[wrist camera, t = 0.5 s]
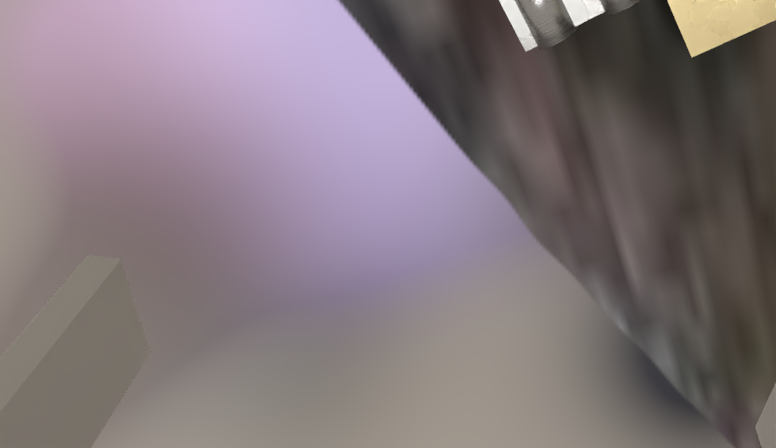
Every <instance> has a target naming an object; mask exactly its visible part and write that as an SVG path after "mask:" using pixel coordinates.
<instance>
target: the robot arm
mask: <svg viewBox="0 0 776 448" xmlns="http://www.w3.org/2000/svg"><path fill="white" fill-rule="evenodd" d="M150 352H151V351H150V348H149V345H148V342H147V339H146V335H145V332H144V329H143V326H142V323H141V320H140V316H139V313H138V310H137V307H136V304H135V301H134V297H133V294H132V291H131V288H130V285H129V282H128V278H127V275H126V272H125V269H124V266H123V262H122V259H118V258H109V257H99V256H89V255H87V257H86V258H85V259H84V260H83V261H82V262H81V264H80V265H79V266H78V267H77V268H76V270H75V271H74V272H73V273H72V274H71V275H70V276H69V278H68V279H67V280H66V281H65V282H64V283H63V285H62V286H61V287H60V288H59V289H58V290H57V292H56V293H55V294H54V295H53V296H52V297H51V298H50V300H49V301H48V302H47V303H46V304H45V305H44V307H43V308H42V309H41V310H40V311H39V312H38V314H37V315H36V316H35V317H34V318H33V319H32V321H31V322H30V323H29V324H28V325H27V326H26V328H25V329H24V330H23V331H22V332H21V333H20V334H19V336H18V337H17V338H16V339H15V340H14V341H13V343H12V344H11V345H10V346H9V347H8V349H7V350H6V351H5V352H4V353H3V354H2V356H1V357H0V448H91V447H92V445H93V444H94V442H95V440H96V439H97V437H98V436H99V434H100V432H101V431H102V429H103V428H104V426H105V424H106V423H107V421H108V420H109V418H110V416H111V415H112V413H113V412H114V410H115V408H116V407H117V405H118V404H119V402H120V400H121V399H122V397H123V396H124V394H125V392H126V391H127V389H128V388H129V386H130V384H131V383H132V381H133V379H134V378H135V376H136V375H137V373H138V372H139V370H140V368H141V367H142V365H143V364H144V362H145V360H146V359H147V357H148V355H149V354H150ZM755 428H756V431H757V434H758V437H759V440H760V443H761V447H762V448H776V383H775V385H774V388H773V390H772V392H771V394H770V396H769V398H768V401H767V403H766V405H765V407H764V409H763V411H762V414H761V416H760V418H759V420H758V422H757V424H756V427H755Z"/></svg>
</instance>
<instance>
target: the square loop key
mask: <svg viewBox="0 0 776 448" xmlns="http://www.w3.org/2000/svg"><path fill="white" fill-rule="evenodd" d="M499 1H500V3H501V5H502V7H503V9H504V11H505V13H506V15H507V17H508V19H509V21H510V23H511V24H512V26H513V28H514V30H515V32H516V34H517V36H518V38H519V40H520V42H521V44H522V46H523V48H524V49H525V51H528V50H530V49H532V48H534V47H536V46H538V48H539V49H546V48H549V47H551V46H554V45H556V44H558V43H560V42H561V41H563V40H565V39H566V38H568V37H569V36H571V35H572V34H573V33H575V32H576V31H577V29H578V25H579V24H581V23H583V22H585V21H587V20H589V19H591V18H593V17H595V16H597V15H599V14H601V13H603V12H604V13H605V15H612V14H616V13H619V12H621V11H623V10H625V9H628V8H629V7H631V6H633V5H635V4H636V3H638V2H640V1H641V0H499ZM667 1H668V3H669V6H670V8H671V10H672V13H673V15H674V17H675V20H676V22H677V24H678V27H679V29H680V31H681V34H682V36H683V38H684V41H685V43H686V45H687V48H688V50H689V52H690V55H691V57H694V56H696V55H699V54H701V53H703V52H705V51H707V50H710V49H712V48H714V47H716V46H719V45H721V44H723V43H725V42H728V41H730V40H732V39H734V38H737V37H739V36H741V35H743V34H745V33H748V32H750V31H752V30H754V29H757V28H759V27H761V26H763V25H766V24H768V23H770V22H772V21H775V20H776V0H667Z"/></svg>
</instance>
